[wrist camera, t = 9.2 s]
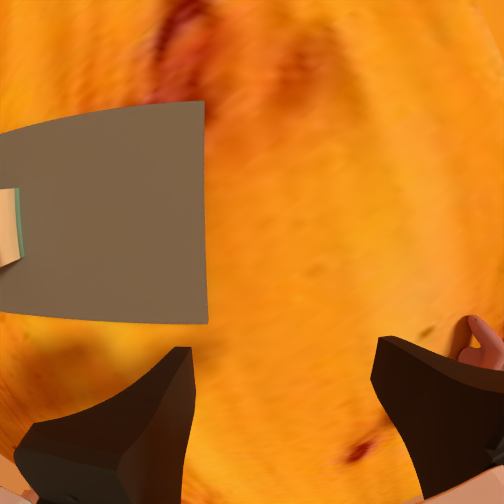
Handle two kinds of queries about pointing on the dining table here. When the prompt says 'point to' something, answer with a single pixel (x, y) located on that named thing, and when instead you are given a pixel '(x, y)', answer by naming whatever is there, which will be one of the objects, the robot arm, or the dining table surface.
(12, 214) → the birch block
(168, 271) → the rubber mat
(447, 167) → the dining table surface
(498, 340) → the video game controller
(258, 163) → the dining table surface
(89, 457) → the robot arm
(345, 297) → the dining table surface
